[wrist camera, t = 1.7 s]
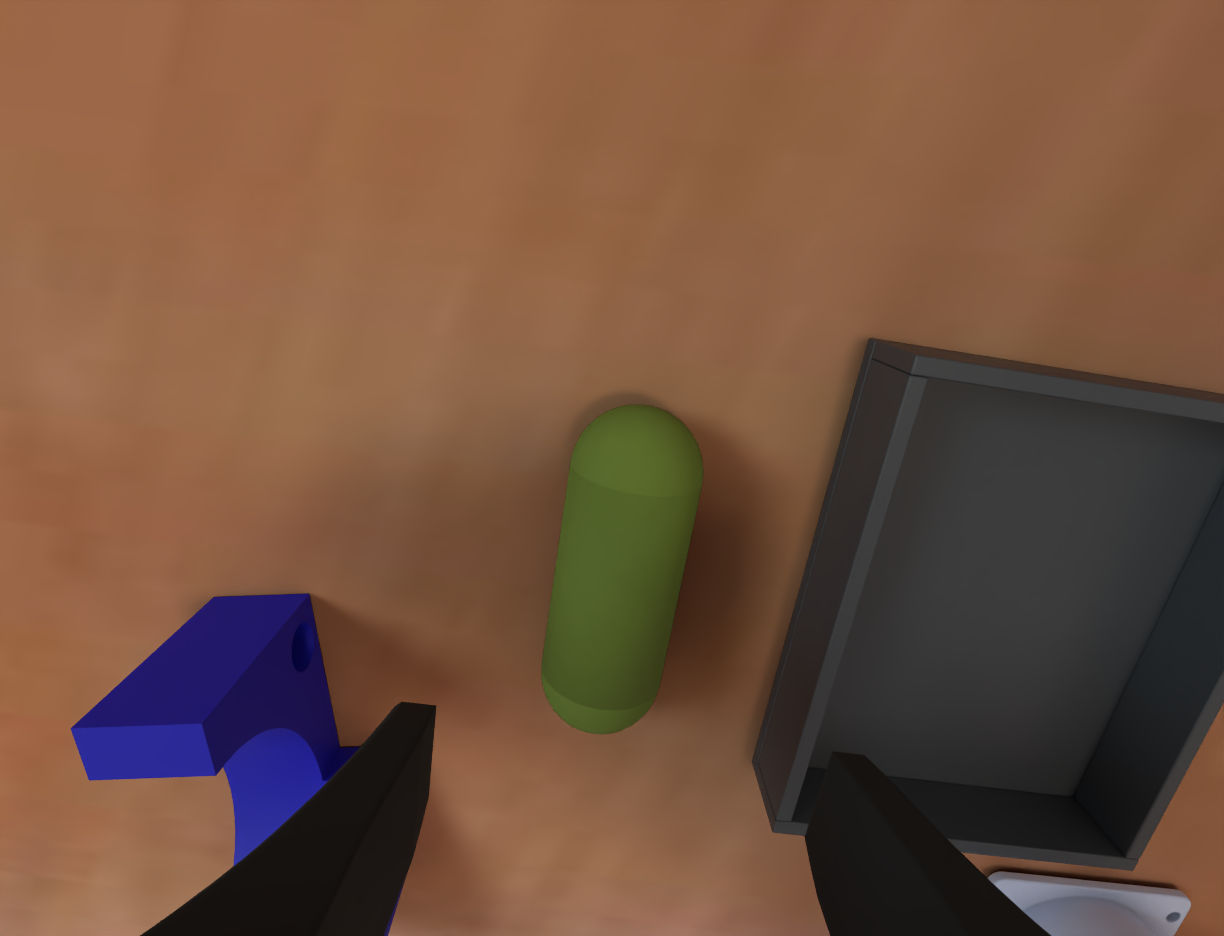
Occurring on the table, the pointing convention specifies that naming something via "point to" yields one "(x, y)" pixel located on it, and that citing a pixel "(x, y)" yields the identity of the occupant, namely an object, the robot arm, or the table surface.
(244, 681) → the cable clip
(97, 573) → the table surface
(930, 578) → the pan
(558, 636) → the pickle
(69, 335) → the table surface
